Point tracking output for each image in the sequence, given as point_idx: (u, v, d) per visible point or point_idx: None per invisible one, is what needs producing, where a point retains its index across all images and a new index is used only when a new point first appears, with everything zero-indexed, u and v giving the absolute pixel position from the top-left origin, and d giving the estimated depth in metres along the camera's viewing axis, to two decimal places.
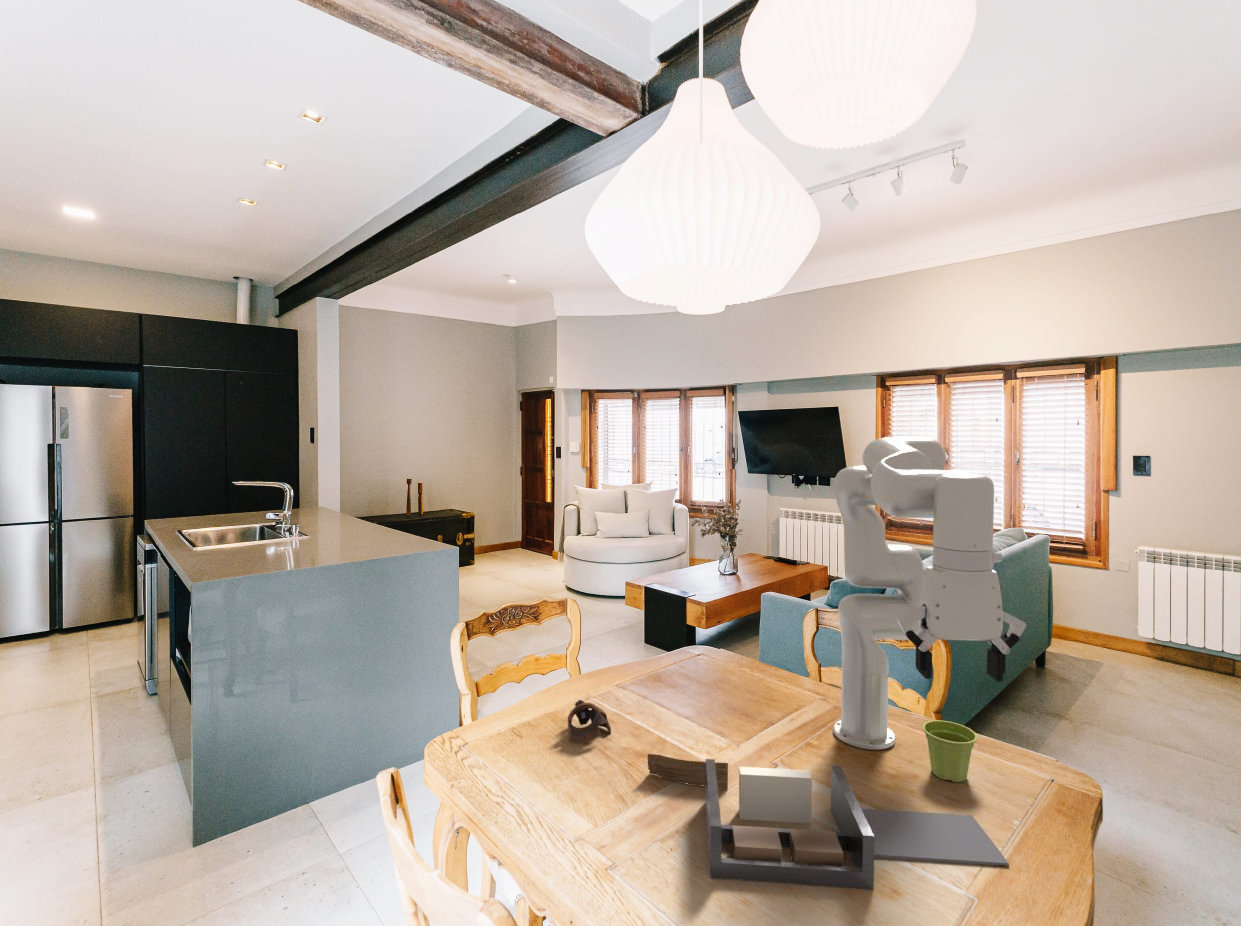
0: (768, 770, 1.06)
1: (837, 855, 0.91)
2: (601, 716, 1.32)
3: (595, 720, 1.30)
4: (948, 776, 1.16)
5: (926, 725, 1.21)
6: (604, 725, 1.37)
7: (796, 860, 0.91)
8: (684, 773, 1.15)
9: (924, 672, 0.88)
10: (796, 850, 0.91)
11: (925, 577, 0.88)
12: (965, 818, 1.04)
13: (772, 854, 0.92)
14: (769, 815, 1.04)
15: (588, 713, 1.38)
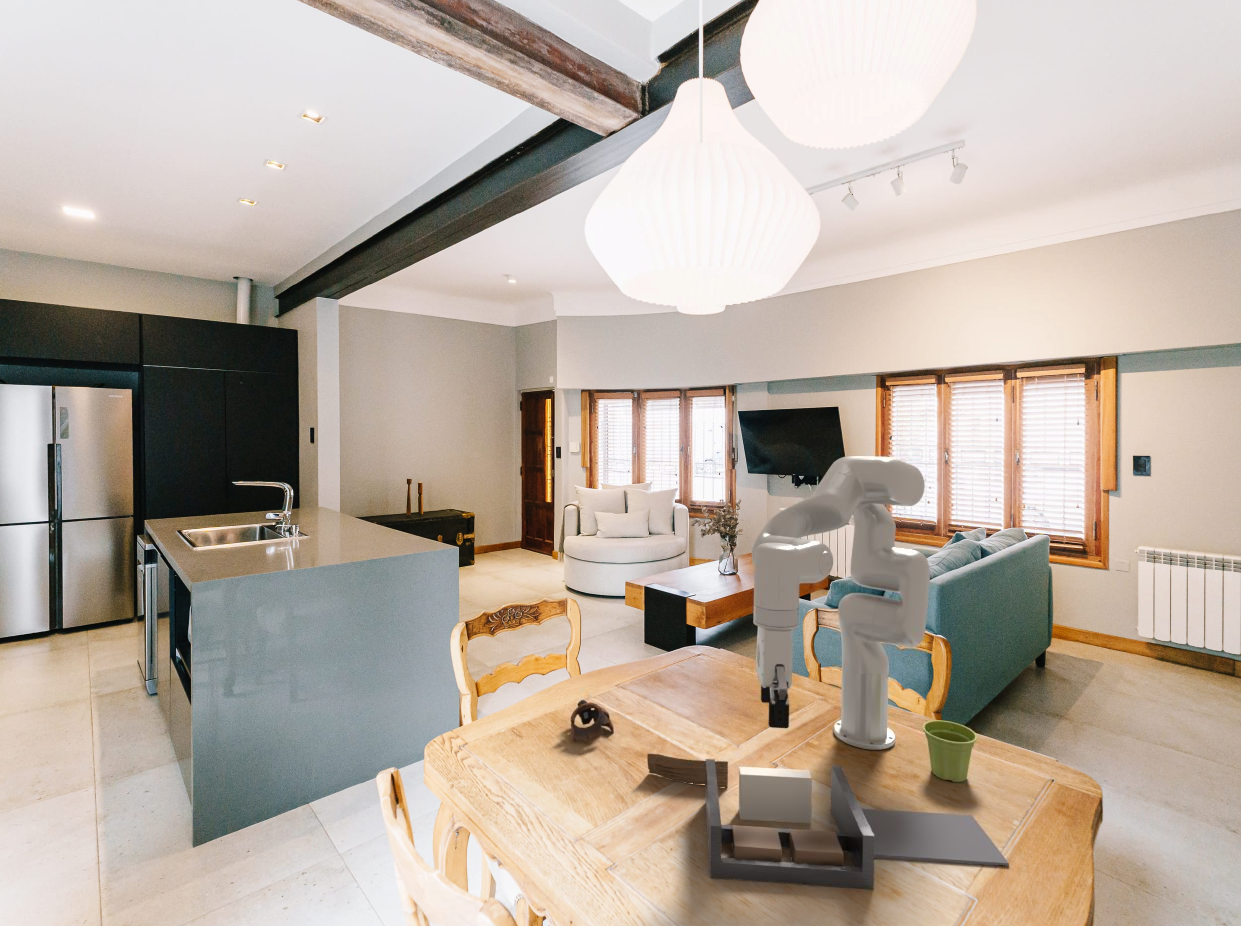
0: (768, 770, 1.06)
1: (837, 855, 0.91)
2: (604, 716, 1.32)
3: (598, 720, 1.30)
4: (948, 776, 1.16)
5: (926, 725, 1.21)
6: (607, 725, 1.37)
7: (796, 860, 0.91)
8: (684, 772, 1.15)
9: (783, 723, 0.99)
10: (796, 850, 0.91)
11: (775, 640, 0.99)
12: (965, 818, 1.04)
13: (772, 854, 0.92)
14: (769, 815, 1.04)
15: (590, 713, 1.38)
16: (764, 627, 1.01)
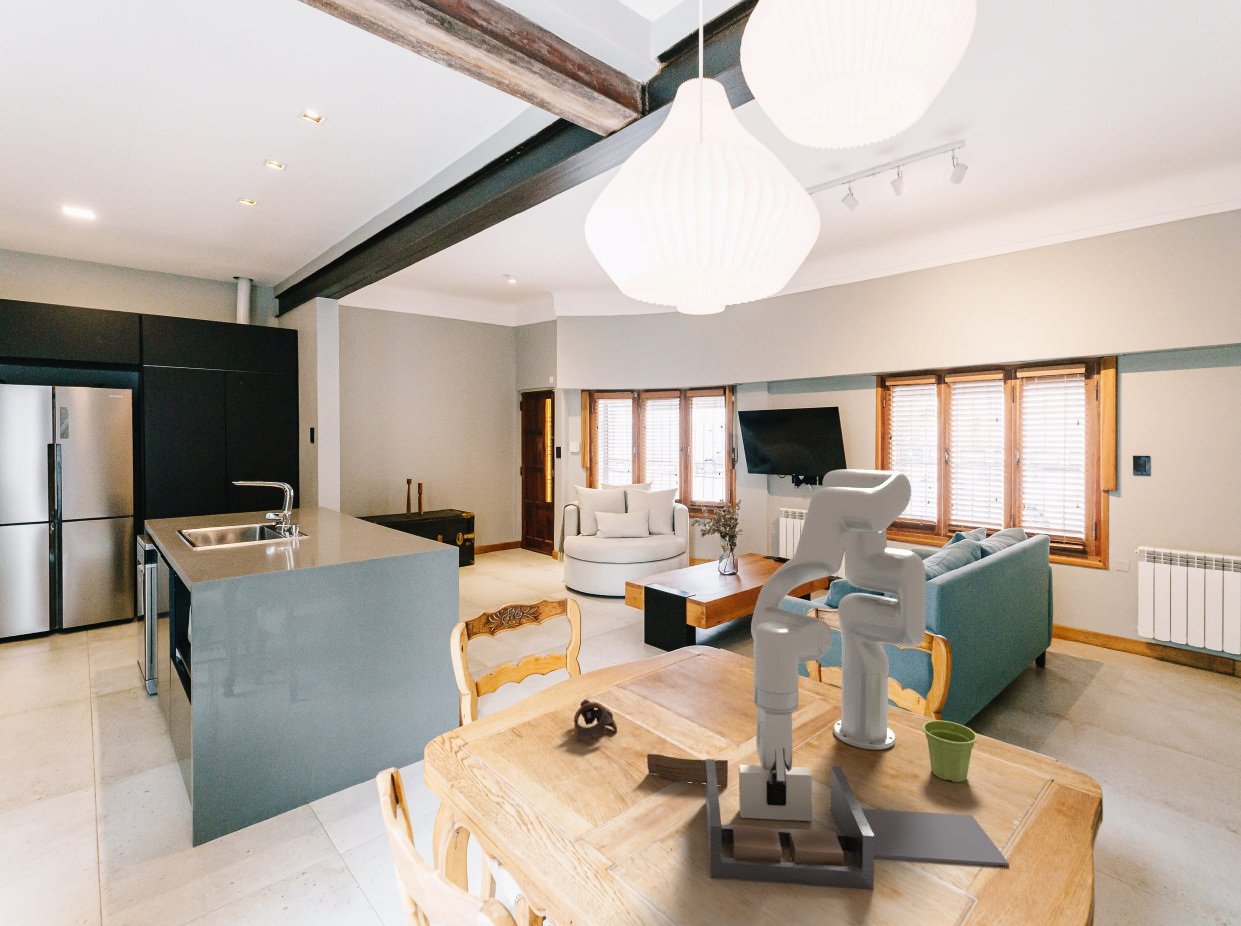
0: None
1: (837, 855, 0.91)
2: (607, 715, 1.32)
3: (602, 719, 1.30)
4: (948, 776, 1.16)
5: (926, 725, 1.21)
6: (610, 724, 1.37)
7: (796, 860, 0.91)
8: (684, 771, 1.16)
9: None
10: (796, 850, 0.91)
11: (775, 724, 1.00)
12: (965, 818, 1.04)
13: (771, 854, 0.92)
14: (769, 813, 1.04)
15: (593, 713, 1.38)
16: (764, 709, 1.02)
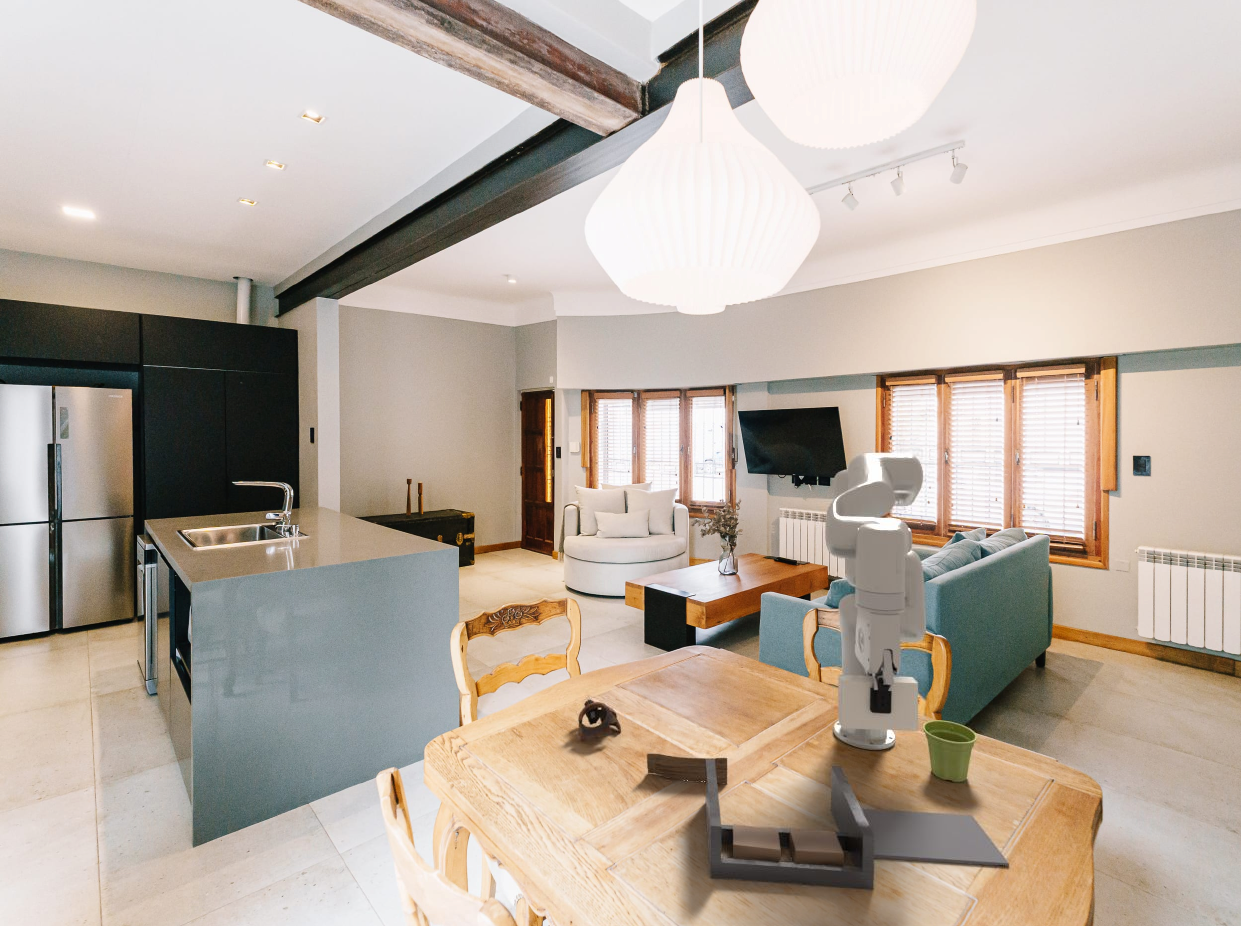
0: (870, 677, 1.01)
1: (837, 855, 0.91)
2: (612, 715, 1.32)
3: (606, 719, 1.30)
4: (948, 776, 1.16)
5: (926, 725, 1.21)
6: (614, 724, 1.37)
7: (796, 860, 0.91)
8: (684, 770, 1.16)
9: None
10: (796, 850, 0.91)
11: (883, 624, 0.96)
12: (965, 818, 1.04)
13: (770, 854, 0.92)
14: (873, 723, 1.00)
15: (597, 712, 1.38)
16: (869, 611, 0.98)
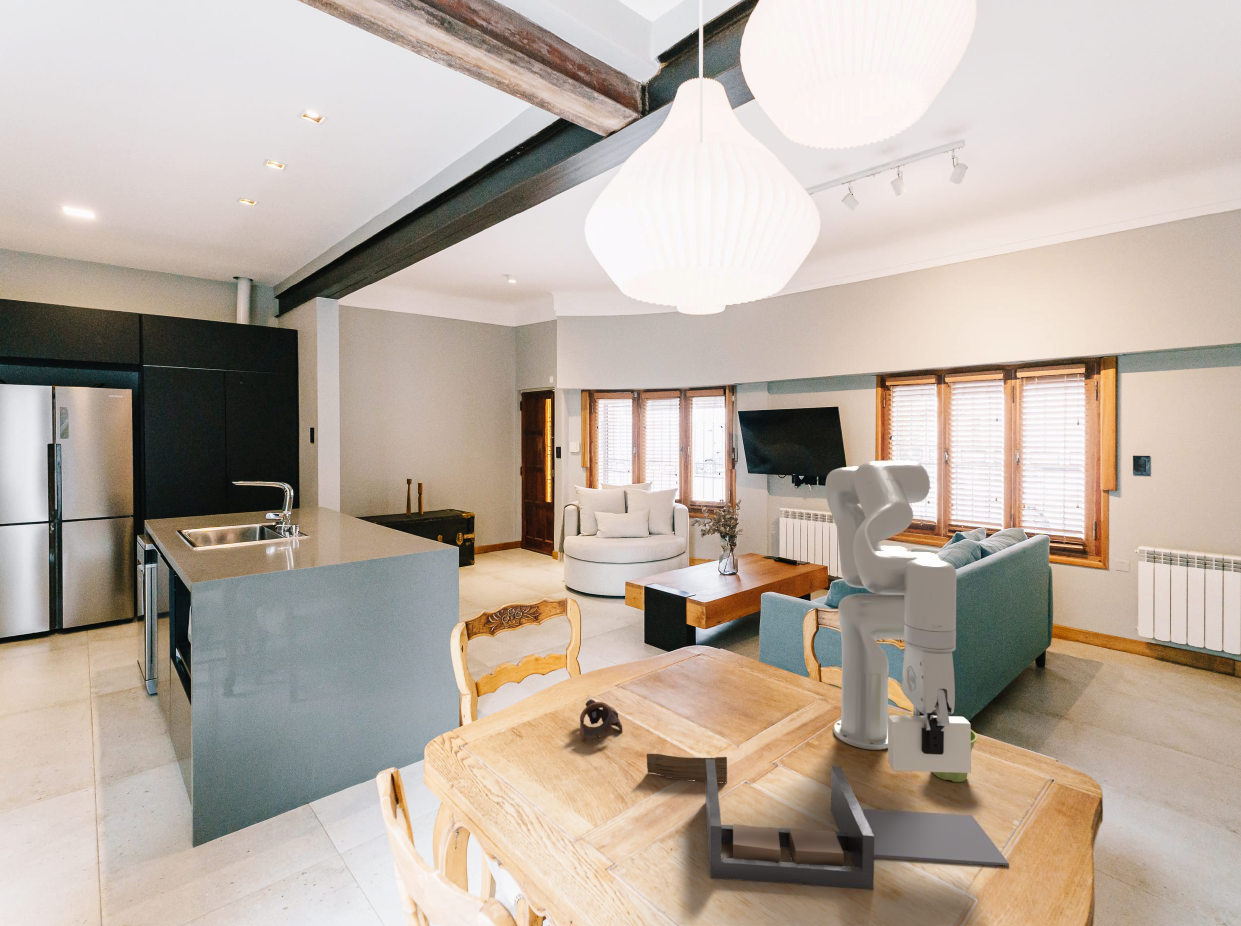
0: (920, 718, 0.99)
1: (837, 855, 0.91)
2: (613, 715, 1.32)
3: (608, 719, 1.30)
4: (948, 776, 1.16)
5: None
6: (615, 724, 1.38)
7: (796, 860, 0.91)
8: (684, 770, 1.16)
9: None
10: (796, 850, 0.91)
11: (936, 663, 0.94)
12: (965, 818, 1.04)
13: (770, 854, 0.92)
14: (925, 765, 0.98)
15: (599, 712, 1.38)
16: (921, 649, 0.96)
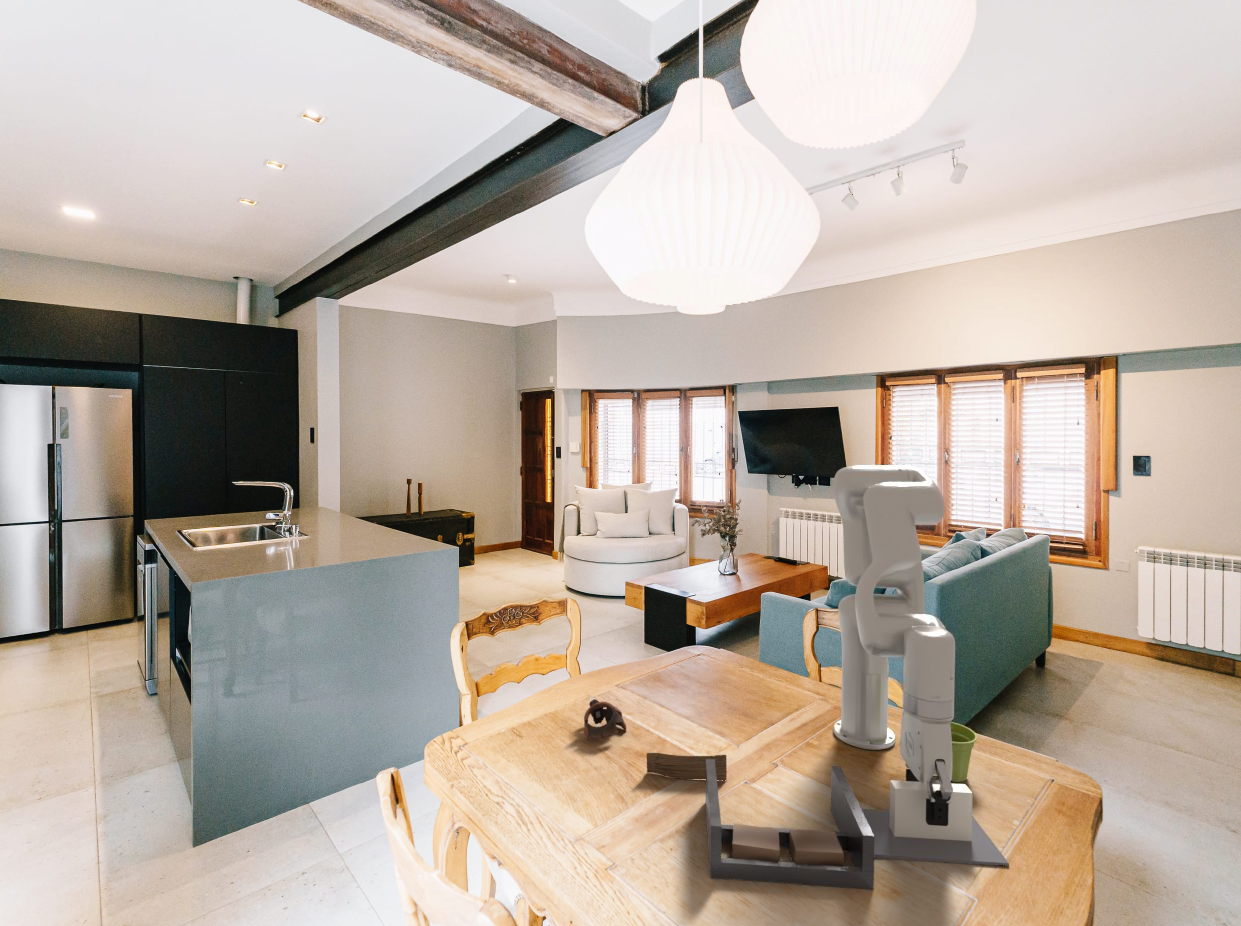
0: (923, 784, 1.00)
1: (837, 854, 0.91)
2: (617, 715, 1.33)
3: (612, 719, 1.30)
4: None
5: None
6: (619, 724, 1.38)
7: (796, 860, 0.91)
8: (684, 768, 1.17)
9: None
10: (796, 850, 0.91)
11: (935, 734, 0.95)
12: None
13: (769, 854, 0.92)
14: (926, 832, 0.99)
15: (602, 712, 1.38)
16: (920, 718, 0.96)
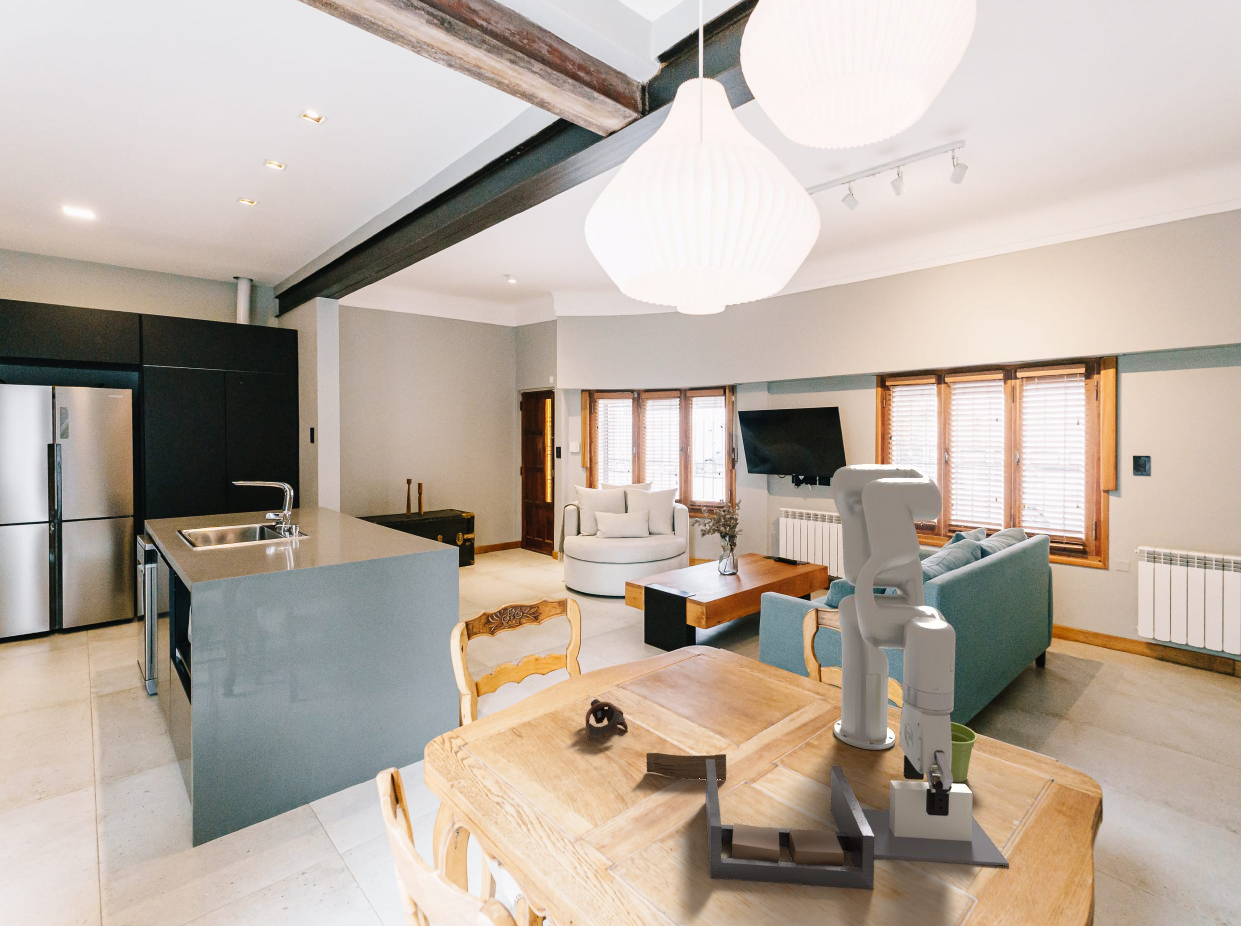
0: (923, 784, 1.00)
1: (837, 854, 0.91)
2: (619, 714, 1.33)
3: (614, 719, 1.31)
4: None
5: None
6: (620, 723, 1.38)
7: (797, 860, 0.91)
8: (683, 768, 1.17)
9: None
10: (797, 851, 0.91)
11: (934, 725, 0.95)
12: None
13: (769, 854, 0.92)
14: (926, 832, 0.99)
15: (604, 712, 1.38)
16: (919, 710, 0.97)
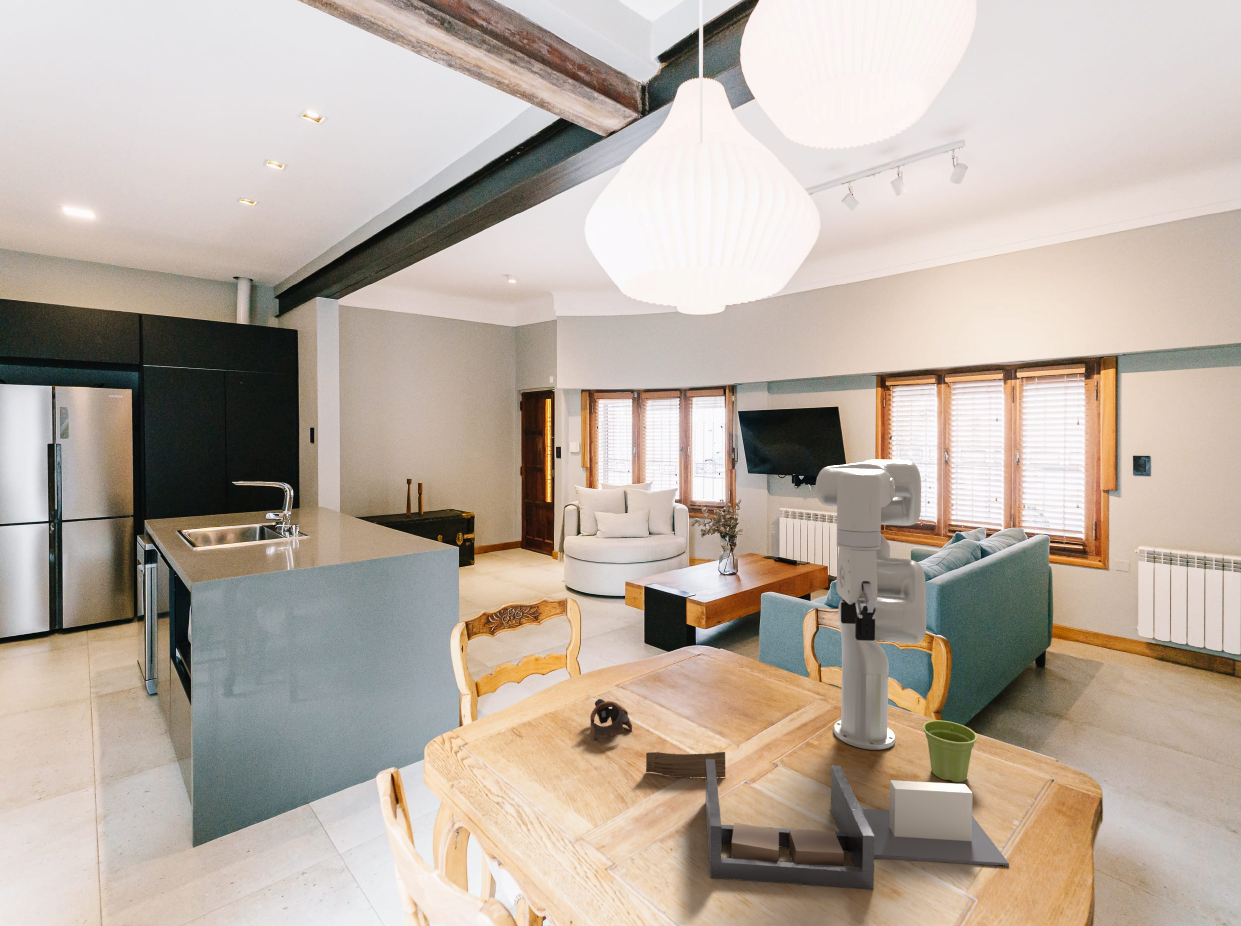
0: (923, 784, 1.00)
1: (837, 854, 0.91)
2: (624, 714, 1.33)
3: (619, 718, 1.31)
4: (948, 776, 1.16)
5: (926, 725, 1.21)
6: (624, 723, 1.38)
7: (797, 861, 0.91)
8: (683, 767, 1.17)
9: (869, 636, 1.06)
10: (797, 851, 0.91)
11: (861, 559, 1.06)
12: None
13: (769, 854, 0.92)
14: (926, 832, 0.99)
15: (608, 711, 1.38)
16: (849, 548, 1.08)
